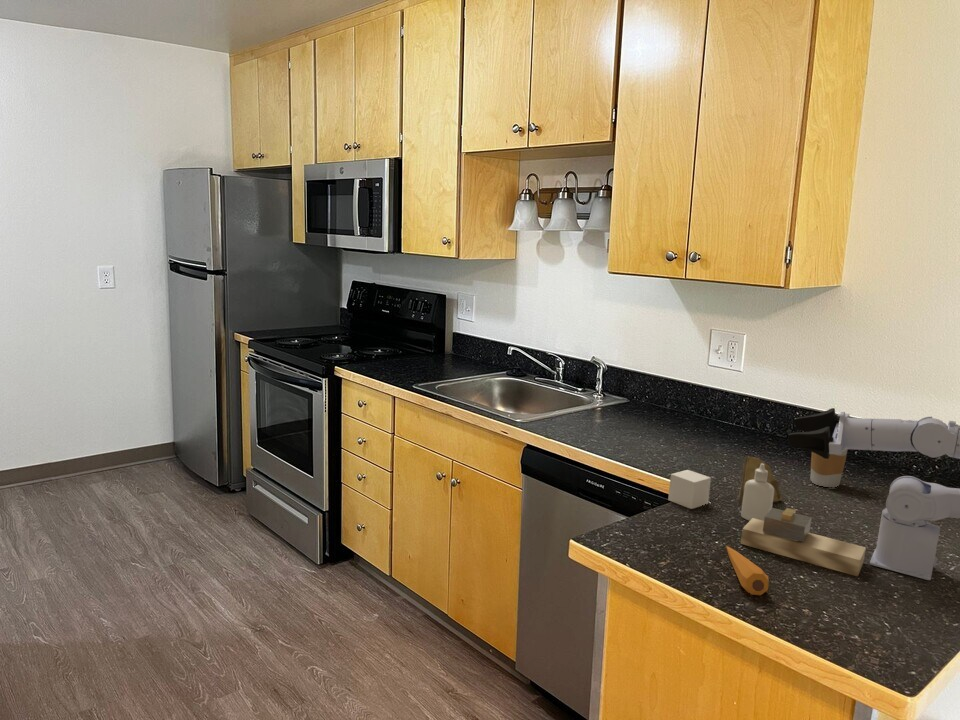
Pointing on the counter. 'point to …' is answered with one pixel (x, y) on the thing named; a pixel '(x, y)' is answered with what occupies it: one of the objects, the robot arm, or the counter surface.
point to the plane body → (807, 548)
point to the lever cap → (787, 524)
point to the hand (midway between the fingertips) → (792, 431)
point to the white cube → (689, 489)
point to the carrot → (748, 573)
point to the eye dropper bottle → (757, 496)
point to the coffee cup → (827, 469)
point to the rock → (749, 474)
